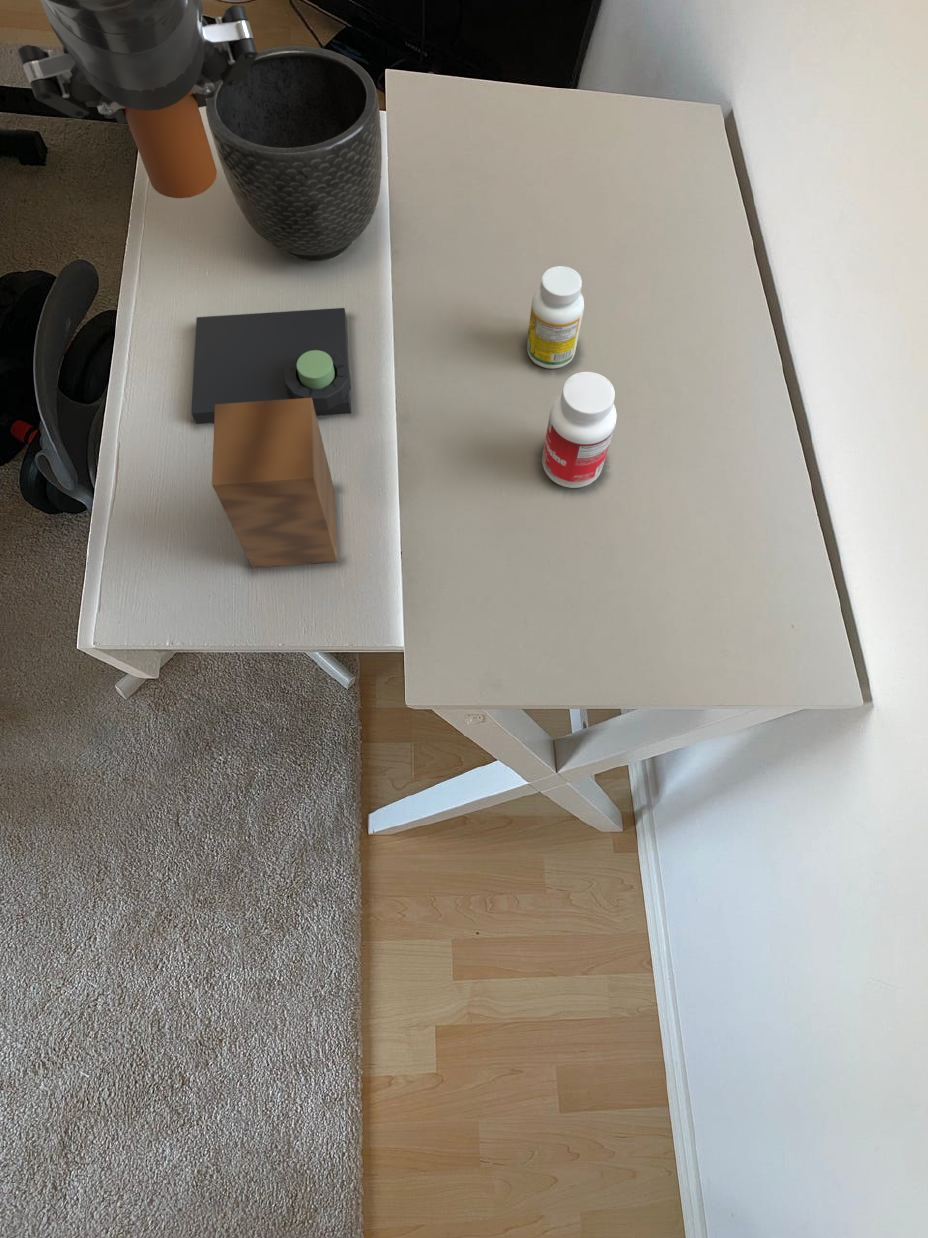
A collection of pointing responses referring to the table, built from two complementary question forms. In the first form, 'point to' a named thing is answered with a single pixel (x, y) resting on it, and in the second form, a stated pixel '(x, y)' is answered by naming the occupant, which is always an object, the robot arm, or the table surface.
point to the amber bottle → (174, 148)
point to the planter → (301, 148)
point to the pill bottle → (579, 430)
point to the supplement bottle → (555, 318)
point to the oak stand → (275, 481)
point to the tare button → (315, 369)
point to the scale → (268, 359)
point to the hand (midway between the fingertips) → (157, 98)
